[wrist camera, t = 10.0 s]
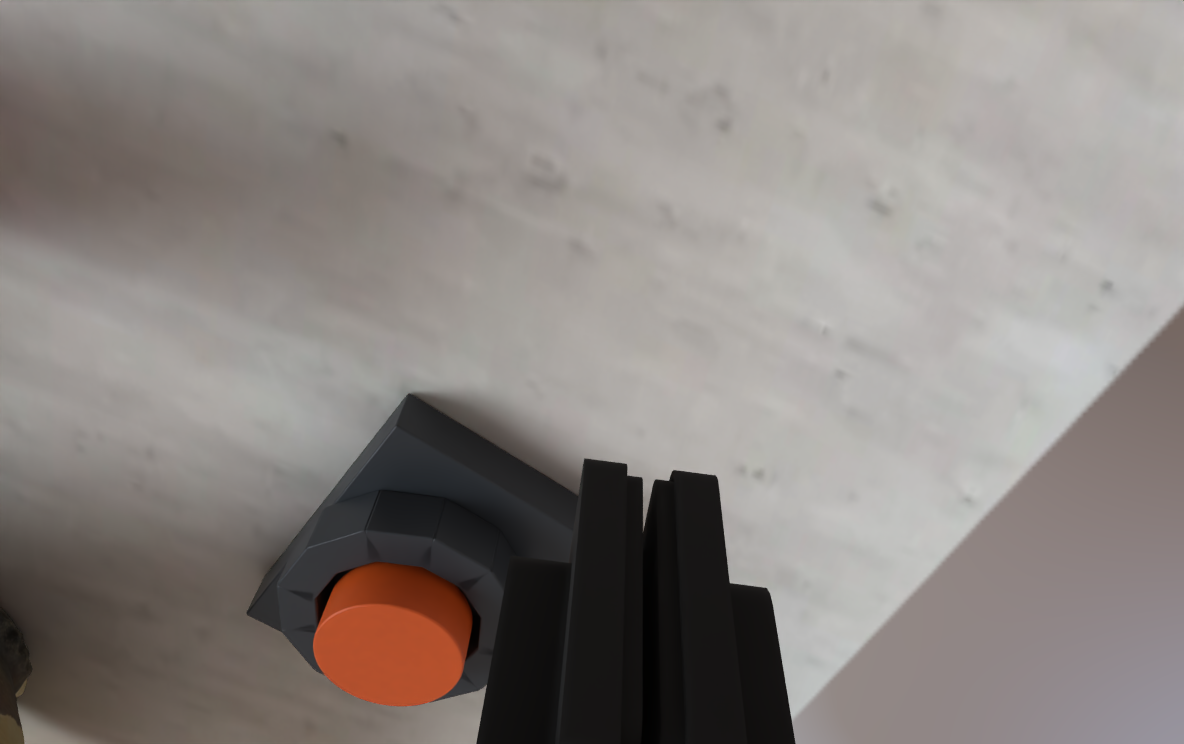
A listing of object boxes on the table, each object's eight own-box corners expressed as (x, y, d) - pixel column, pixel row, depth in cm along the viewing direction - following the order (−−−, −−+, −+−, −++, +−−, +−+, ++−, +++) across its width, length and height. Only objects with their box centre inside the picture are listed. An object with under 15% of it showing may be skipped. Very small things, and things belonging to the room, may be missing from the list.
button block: (436, 666, 33) (416, 750, 30) (259, 575, 31) (219, 656, 28) (599, 508, 29) (594, 587, 26) (404, 389, 26) (375, 461, 24)
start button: (425, 679, 29) (413, 726, 27) (304, 618, 28) (285, 664, 26) (500, 606, 27) (492, 652, 25) (374, 537, 26) (358, 581, 24)
